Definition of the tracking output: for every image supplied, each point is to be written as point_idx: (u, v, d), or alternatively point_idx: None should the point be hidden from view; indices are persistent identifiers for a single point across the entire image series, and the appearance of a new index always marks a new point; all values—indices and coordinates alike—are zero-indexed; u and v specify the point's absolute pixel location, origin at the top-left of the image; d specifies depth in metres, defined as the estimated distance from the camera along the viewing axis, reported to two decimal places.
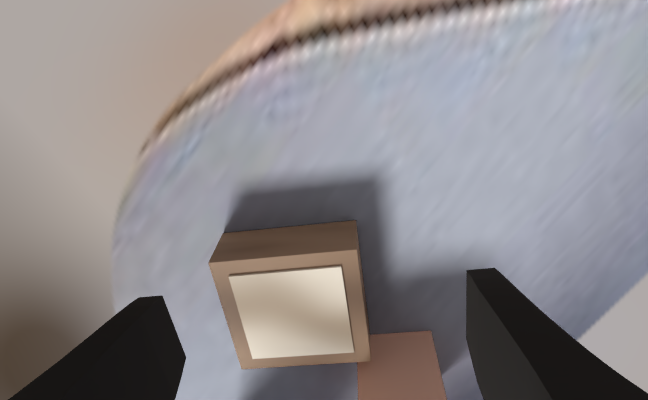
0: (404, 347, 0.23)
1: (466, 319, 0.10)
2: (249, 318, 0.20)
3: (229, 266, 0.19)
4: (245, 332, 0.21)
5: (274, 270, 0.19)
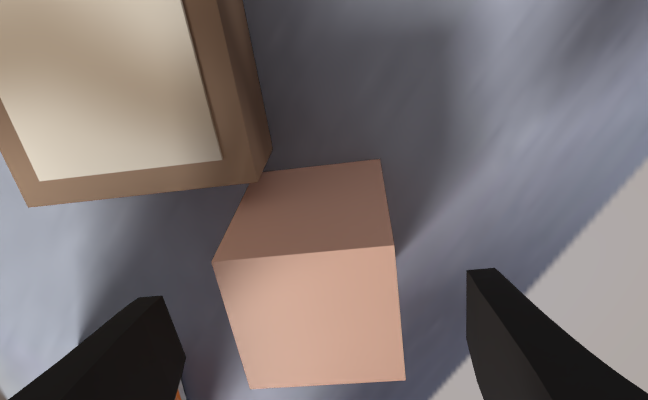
0: (329, 178, 0.13)
1: (466, 319, 0.10)
2: (8, 82, 0.10)
3: None
4: (12, 119, 0.11)
5: None
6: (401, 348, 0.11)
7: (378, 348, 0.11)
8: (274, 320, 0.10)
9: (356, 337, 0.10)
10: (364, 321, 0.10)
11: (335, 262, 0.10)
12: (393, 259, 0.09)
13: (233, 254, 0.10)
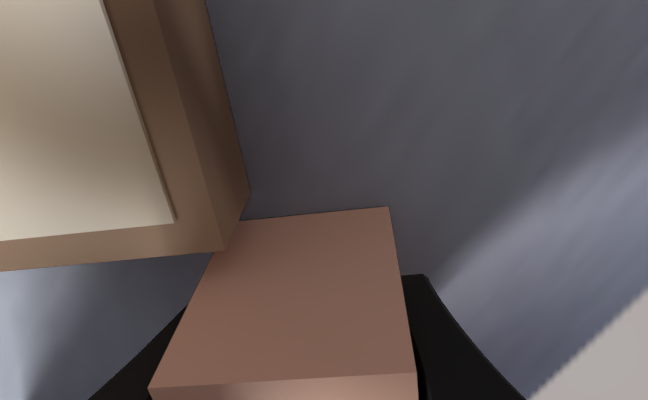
0: (323, 236, 0.10)
1: None
2: None
3: None
4: None
5: None
6: None
7: None
8: None
9: None
10: None
11: (328, 391, 0.06)
12: (414, 390, 0.06)
13: (181, 373, 0.07)
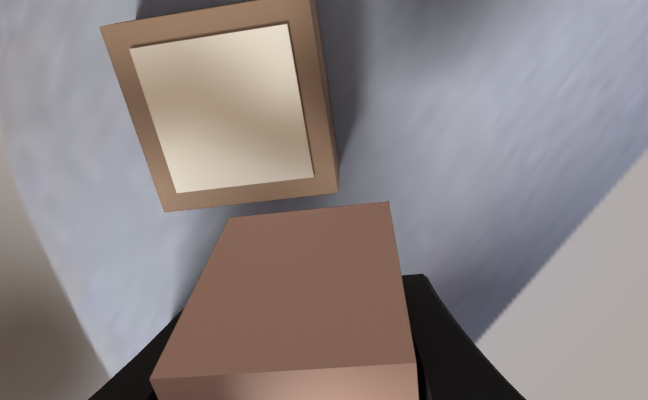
0: (323, 231, 0.10)
1: None
2: (165, 123, 0.15)
3: (129, 31, 0.14)
4: (163, 148, 0.15)
5: (194, 36, 0.13)
6: None
7: None
8: None
9: None
10: None
11: (329, 382, 0.07)
12: (414, 381, 0.06)
13: (182, 365, 0.07)
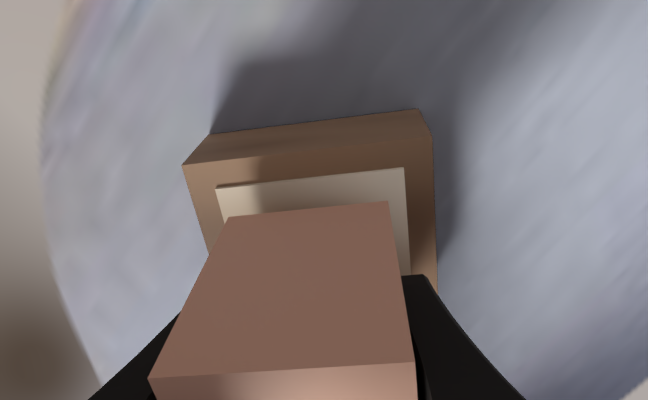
0: (322, 230, 0.10)
1: None
2: None
3: (215, 171, 0.12)
4: None
5: (291, 177, 0.12)
6: None
7: None
8: None
9: None
10: None
11: (328, 381, 0.07)
12: (413, 380, 0.06)
13: (181, 364, 0.07)
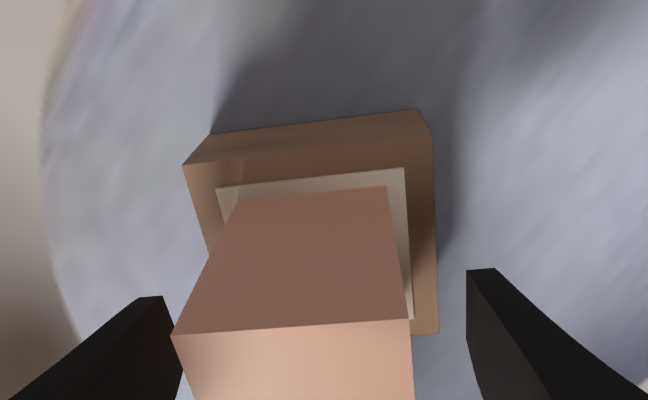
0: (325, 211, 0.11)
1: (466, 319, 0.10)
2: None
3: (215, 171, 0.12)
4: None
5: (292, 177, 0.12)
6: None
7: None
8: None
9: None
10: None
11: (331, 337, 0.07)
12: (407, 335, 0.07)
13: (199, 324, 0.08)
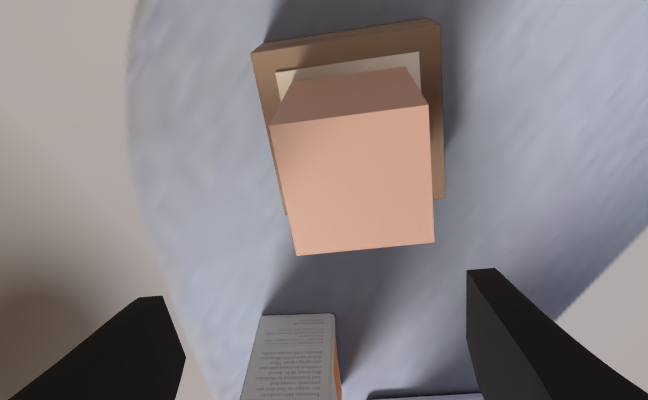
0: (361, 79, 0.14)
1: (466, 319, 0.10)
2: None
3: (276, 58, 0.15)
4: None
5: (333, 61, 0.15)
6: (431, 209, 0.12)
7: (411, 209, 0.12)
8: (321, 183, 0.12)
9: (392, 199, 0.12)
10: (399, 182, 0.12)
11: (377, 122, 0.11)
12: (427, 118, 0.11)
13: (287, 121, 0.11)
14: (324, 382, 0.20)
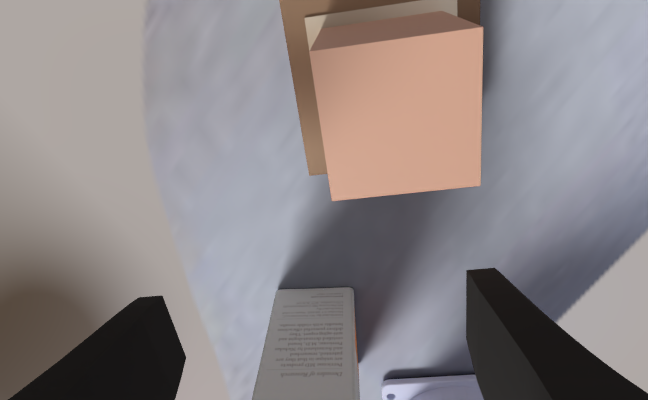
0: (398, 20, 0.14)
1: (466, 319, 0.10)
2: None
3: (305, 1, 0.15)
4: (318, 113, 0.16)
5: (366, 6, 0.15)
6: (479, 147, 0.11)
7: (458, 148, 0.11)
8: (362, 118, 0.11)
9: (438, 136, 0.11)
10: (447, 117, 0.11)
11: (426, 48, 0.10)
12: (481, 42, 0.10)
13: (328, 48, 0.11)
14: (346, 353, 0.19)
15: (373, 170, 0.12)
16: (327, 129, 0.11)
